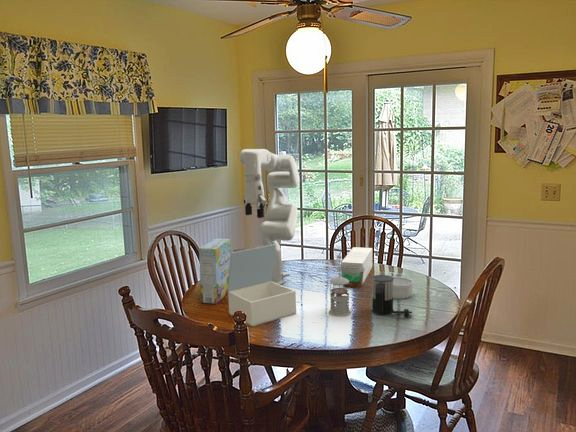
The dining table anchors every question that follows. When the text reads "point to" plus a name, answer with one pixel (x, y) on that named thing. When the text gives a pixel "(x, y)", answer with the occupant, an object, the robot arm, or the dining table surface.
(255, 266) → the lid flap
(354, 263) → the long white box
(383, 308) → the milk frother
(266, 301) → the carton
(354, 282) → the food container
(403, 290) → the ramekin
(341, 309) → the french press
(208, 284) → the snack box
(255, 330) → the dining table surface
